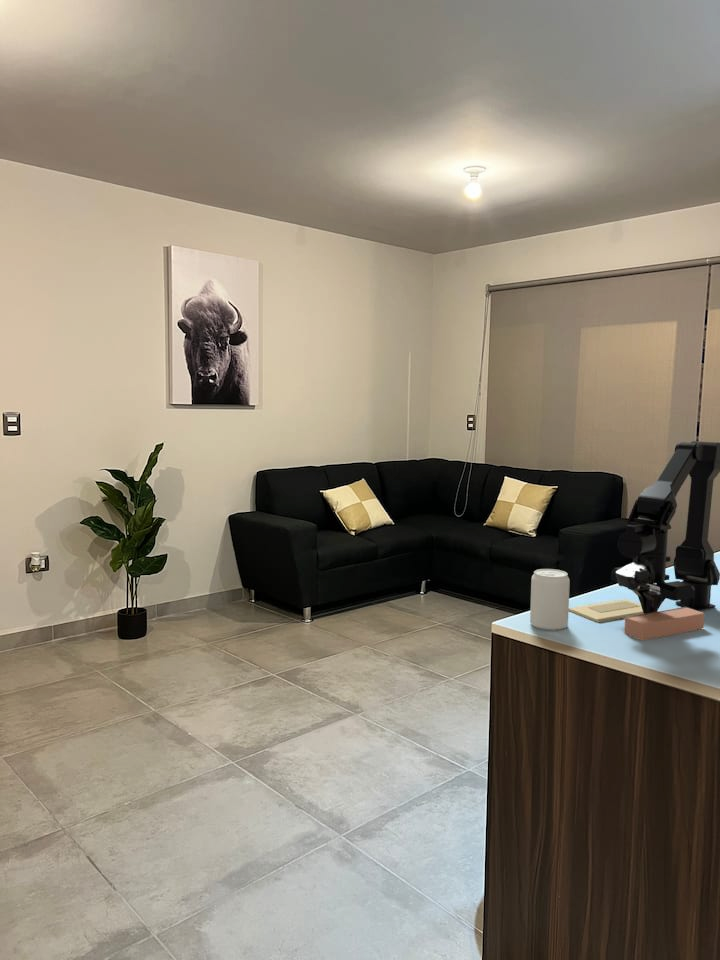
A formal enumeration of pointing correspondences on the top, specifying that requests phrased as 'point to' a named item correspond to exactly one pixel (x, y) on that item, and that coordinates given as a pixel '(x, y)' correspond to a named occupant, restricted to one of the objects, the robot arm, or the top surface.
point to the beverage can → (549, 599)
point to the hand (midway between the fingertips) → (648, 620)
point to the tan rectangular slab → (608, 610)
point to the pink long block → (664, 623)
